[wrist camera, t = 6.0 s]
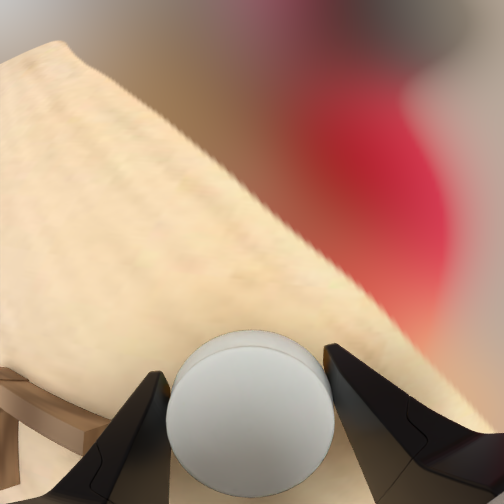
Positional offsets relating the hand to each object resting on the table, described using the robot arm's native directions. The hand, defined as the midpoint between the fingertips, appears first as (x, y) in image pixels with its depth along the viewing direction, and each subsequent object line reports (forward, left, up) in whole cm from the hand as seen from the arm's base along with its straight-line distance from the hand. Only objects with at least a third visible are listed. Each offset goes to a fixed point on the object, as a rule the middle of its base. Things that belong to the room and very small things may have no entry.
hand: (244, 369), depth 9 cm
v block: (+1, +16, -7) cm, 17 cm away
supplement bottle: (-1, 0, -7) cm, 7 cm away
